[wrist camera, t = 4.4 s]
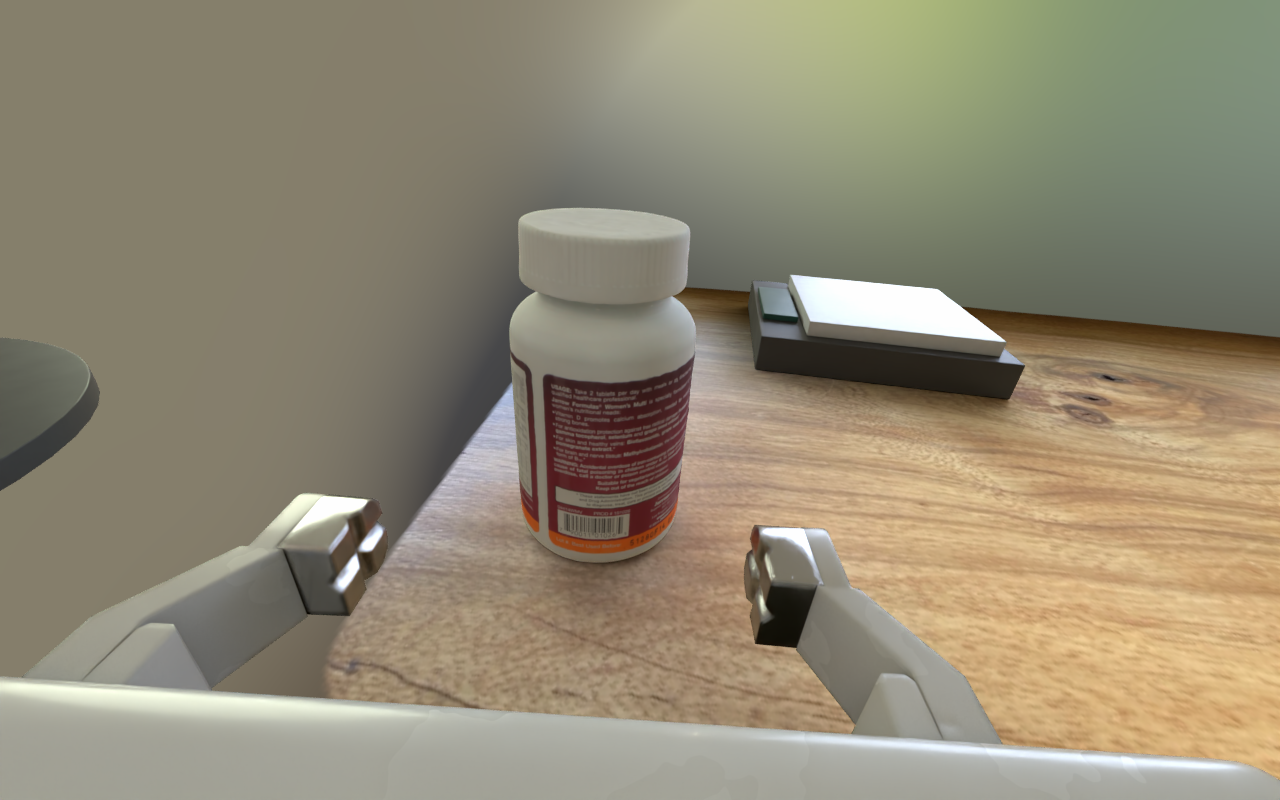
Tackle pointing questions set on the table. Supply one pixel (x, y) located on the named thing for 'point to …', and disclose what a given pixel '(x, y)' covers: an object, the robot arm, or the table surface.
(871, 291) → the scale
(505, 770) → the robot arm
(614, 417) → the pill bottle
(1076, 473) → the table surface
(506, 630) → the table surface
